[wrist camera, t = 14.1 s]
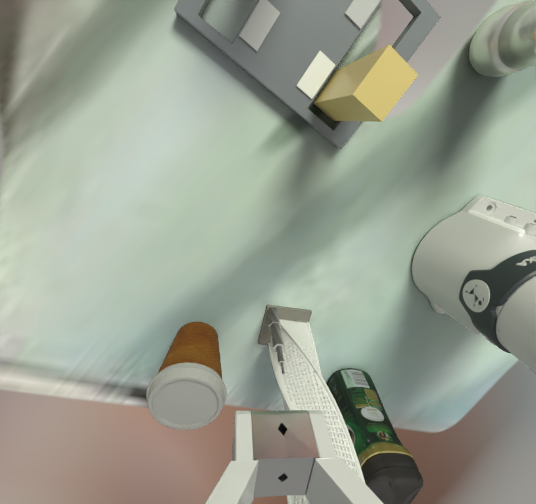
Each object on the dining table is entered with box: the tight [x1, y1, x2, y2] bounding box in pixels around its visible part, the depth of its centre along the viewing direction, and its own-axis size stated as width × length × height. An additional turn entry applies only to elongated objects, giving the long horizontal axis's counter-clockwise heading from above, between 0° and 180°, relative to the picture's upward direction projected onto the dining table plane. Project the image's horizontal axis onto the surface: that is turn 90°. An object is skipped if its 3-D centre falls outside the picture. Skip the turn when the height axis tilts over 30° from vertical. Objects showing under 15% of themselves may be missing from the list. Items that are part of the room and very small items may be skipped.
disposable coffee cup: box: [146, 322, 227, 430], centre depth 41 cm, size 10×10×12 cm
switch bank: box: [174, 0, 441, 149], centre depth 31 cm, size 16×22×2 cm
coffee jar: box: [327, 368, 423, 504], centre depth 45 cm, size 10×8×19 cm
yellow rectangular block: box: [313, 45, 418, 122], centre depth 29 cm, size 4×3×13 cm
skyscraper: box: [258, 305, 365, 504], centre depth 35 cm, size 8×8×28 cm
